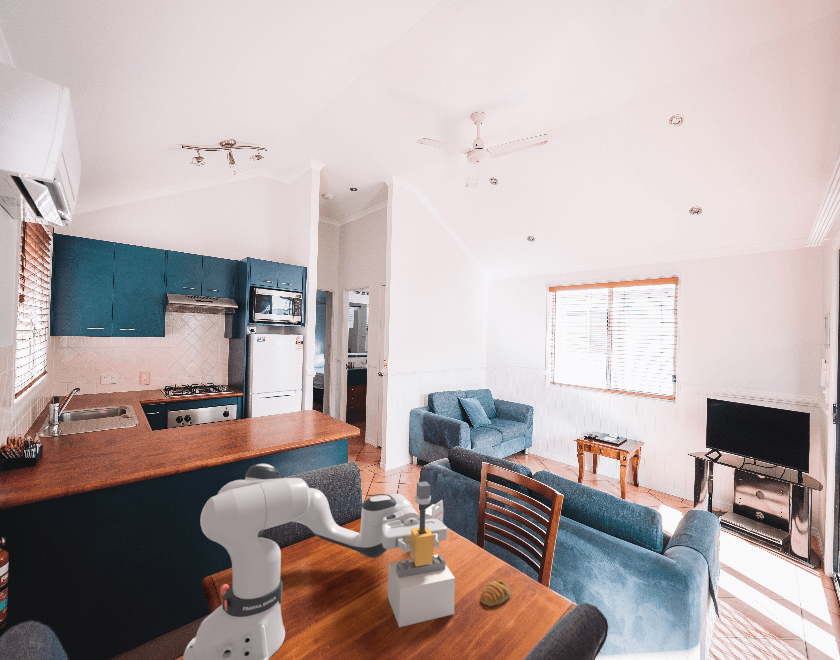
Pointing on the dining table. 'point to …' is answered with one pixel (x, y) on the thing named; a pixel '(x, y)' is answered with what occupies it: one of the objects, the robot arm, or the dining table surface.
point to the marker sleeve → (421, 547)
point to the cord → (422, 502)
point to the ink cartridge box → (435, 511)
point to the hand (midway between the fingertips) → (422, 547)
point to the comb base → (420, 591)
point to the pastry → (495, 593)
